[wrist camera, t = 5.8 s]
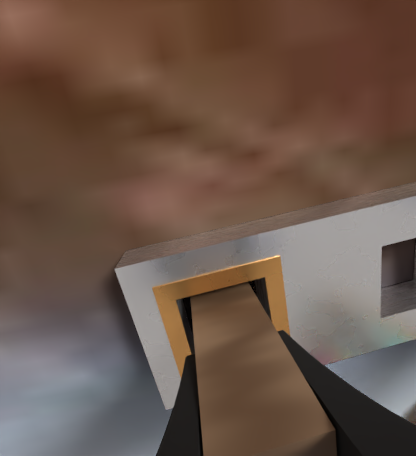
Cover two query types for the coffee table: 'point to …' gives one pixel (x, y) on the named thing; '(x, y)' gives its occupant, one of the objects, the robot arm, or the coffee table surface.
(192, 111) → the coffee table surface
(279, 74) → the coffee table surface
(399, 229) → the peg-in-hole board
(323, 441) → the walnut peg
